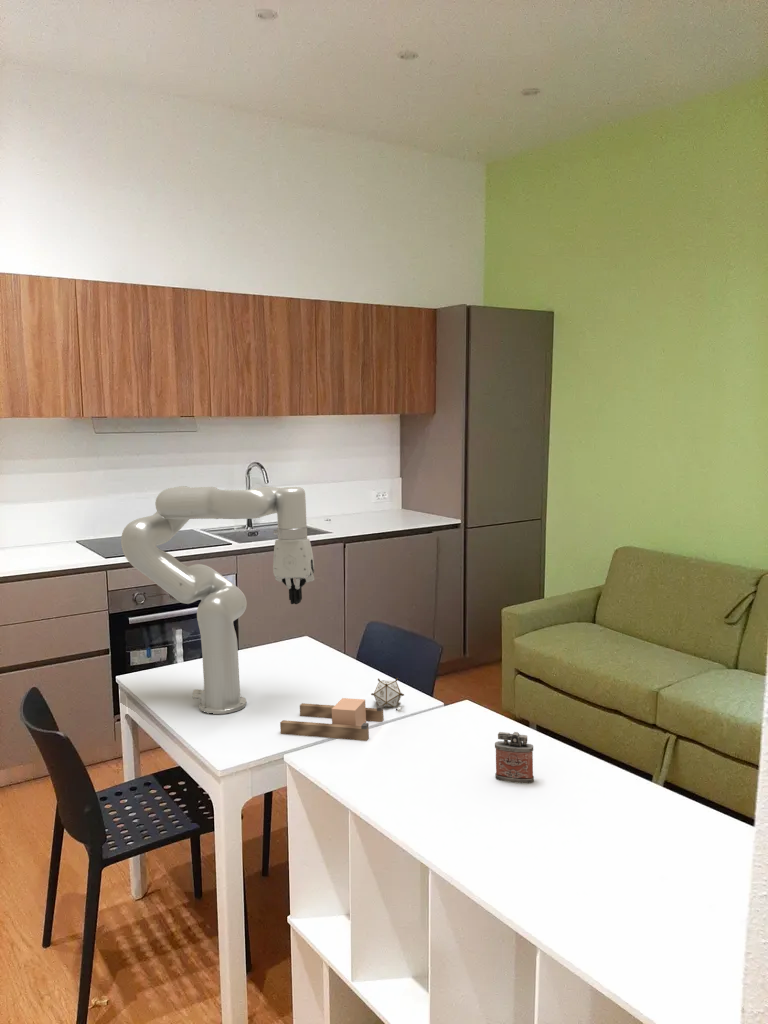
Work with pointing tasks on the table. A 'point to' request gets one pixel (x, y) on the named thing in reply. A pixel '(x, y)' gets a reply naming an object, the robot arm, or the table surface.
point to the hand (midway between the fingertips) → (295, 602)
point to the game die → (387, 693)
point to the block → (349, 712)
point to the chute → (329, 729)
